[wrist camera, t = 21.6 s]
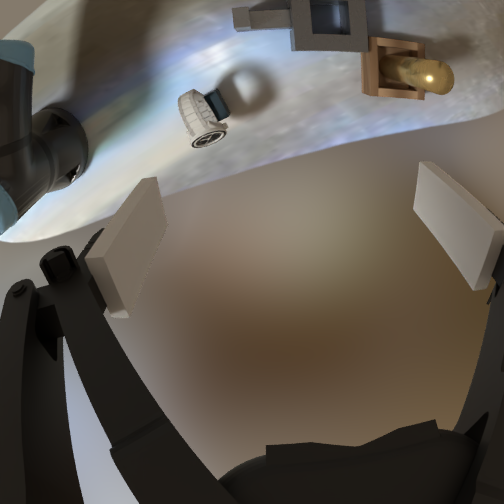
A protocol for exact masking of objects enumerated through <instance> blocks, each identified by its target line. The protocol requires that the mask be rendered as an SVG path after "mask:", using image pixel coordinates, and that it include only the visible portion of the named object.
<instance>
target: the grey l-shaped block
mask: <svg viewBox="0 0 504 504" xmlns="http://www.w3.org/2000/svg"><path fill="white" fill-rule="evenodd" d="M232 13H233V22H234V29H235V30H236V31H237V32H244V31H257V30H273V29H292V24H291V14H290V9H289V10H264V11H250V12H249V7H240V8H232Z"/></svg>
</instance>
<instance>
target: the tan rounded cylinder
mask: <svg viewBox="0 0 504 504" xmlns="http://www.w3.org/2000/svg"><path fill="white" fill-rule="evenodd" d="M379 71H380V73H381V74H382V75H383V76H384V77H385V78H387V79H391V80H394V81H398V82H401V83H405V84H408V85H411V86H414V87H418V88H421V89H424V90H427V91H430V92H433V93H436V94H439V95H444V94H447V93H449V92H450V91H451V89H452V88H453V85H454V74H453V72H452V70H451V68H450V67H449V66H448V65H447V64H446V63H444V62H441V61H436V60H429V59H422V58H414V57H406V56H396V55H385V56H383V57H382V58H381V59H380V61H379Z"/></svg>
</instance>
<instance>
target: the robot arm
mask: <svg viewBox="0 0 504 504" xmlns="http://www.w3.org/2000/svg"><path fill="white" fill-rule="evenodd" d="M34 54H35V51H34V47H33V46H32V45H31V44H30V43H29V42H26V41H21V40H0V235H2V234H3V233H4V232H5V231H6V230H7V229H9V228H10V227H12V226H14V225H15V223H17V221H18V220H19V219H20V218H21V217H22V216H23V215H24V214H25V213H26V212H27V211H28V210H29V209H30V208H31V207H32V206H33V205H34V204H35V203H36V202H37V201H38V200H39V199H40V198H41V197H42V196H43V195H45V194H46V193H49V192H53V191H57V190H61V189H63V188H66V187H67V186H69V185H70V184H72V183H73V182H74V181H75V180H76V179H77V178H78V177H79V176H80V175H81V173H82V172H83V170H84V168H85V165H86V162H87V157H88V144H87V139H86V135H85V132H84V130H83V128H82V126H81V125H80V123H79V122H78V120H77V119H76V118H75V117H74V116H73V115H71V114H70V113H69V112H67V111H65V110H62V109H59V108H48V109H44V110H42V111H40V112H37V113H35V114H34V115H32V86H33V76H34V75H35V70H34ZM413 210H414V211H415V212H416V213H417V215H418V216H419V217H420V218H421V220H422V221H423V222H424V223H425V225H426V226H427V227H428V228H429V230H430V231H431V232H432V234H433V235H434V236H435V237H436V239H437V240H438V241H439V243H440V244H441V245H442V247H443V248H444V249H445V251H446V252H447V254H448V255H449V256H450V258H451V259H452V260H453V262H454V263H455V265H456V266H457V267H458V269H459V270H460V272H461V273H462V275H463V276H464V278H465V279H466V281H467V282H468V284H469V285H470V287H471V288H472V290H473V291H475V290H481V289H486V288H487V286H488V284H489V281H490V279H491V277H493V278H494V279H495V281H496V284H495V286H494V288H493V291H492V293H491V295H490V298H489V300H488V302H487V304H489V303H490V302H491V304H490V310H489V315H488V320H487V325H486V330H485V334H484V339H483V343H482V347H481V351H480V355H479V359H478V362H477V366H476V369H475V373H474V376H473V379H472V383H471V386H470V389H469V392H468V395H467V398H466V401H465V404H464V407H463V409H462V412H461V415H460V417H459V420H458V422H457V424H456V426H455V428H454V429H453V431H450V430H443V429H438V427H437V424H436V420H435V419H434V420H431V421H427V422H423V423H419V424H415V425H411V426H406V427H402V428H398V429H396V430H394V431H392V432H390V433H388V434H386V435H384V436H382V437H380V438H377V439H375V440H373V441H371V442H368V443H366V444H364V445H361V446H356V447H353V446H340V445H331V444H321V443H313V442H308V443H296V444H281V445H266V455H263V456H259V457H256V458H254V459H251V460H248V461H246V462H244V463H242V464H240V465H238V466H236V467H235V468H233V469H232V470H230V471H229V472H227V473H226V474H225V475H224V476H222V477H221V478H220V479H219V480H217V479H216V478H215V477H214V476H213V475H212V473H211V472H210V471H209V470H208V469H207V468H206V466H205V465H204V464H203V463H202V462H201V460H200V459H199V458H198V457H197V456H196V454H195V453H194V452H193V451H192V449H191V448H190V447H189V446H188V444H187V443H186V442H185V440H184V439H183V438H182V436H181V435H180V434H179V433H178V431H177V430H176V429H175V427H174V426H173V424H172V423H171V422H170V420H169V419H168V418H167V416H166V415H165V414H164V412H163V411H162V409H161V408H160V407H159V405H158V404H157V402H156V401H155V399H154V398H153V396H152V395H151V393H150V392H149V390H148V389H147V387H146V386H145V384H144V383H143V381H142V380H141V378H140V377H139V375H138V373H137V372H136V370H135V369H134V367H133V366H132V364H131V362H130V361H129V359H128V357H127V356H126V354H125V352H124V351H123V349H122V347H121V346H120V344H119V342H118V340H117V339H116V337H115V335H114V334H113V331H112V330H111V328H110V326H109V324H108V322H107V321H106V319H105V317H104V315H103V313H104V311H105V309H106V307H107V308H108V310H109V312H110V314H111V316H112V318H130V316H131V314H132V311H133V309H134V306H135V303H136V301H137V298H138V295H139V293H140V290H141V288H142V285H143V283H144V280H145V278H146V275H147V273H148V270H149V268H150V266H151V263H152V261H153V258H154V256H155V254H156V251H157V249H158V247H159V244H160V242H161V240H162V238H163V235H164V233H165V231H166V228H167V226H168V223H167V219H166V215H165V211H164V207H163V203H162V199H161V195H160V190H159V186H158V182H157V177H151V178H144V179H142V180H141V181H140V182H139V183H138V185H137V186H136V187H135V188H134V190H133V191H132V192H131V194H130V195H129V196H128V198H127V199H126V200H125V202H124V203H123V204H122V206H121V207H120V208H119V210H118V211H117V212H116V214H115V215H114V216H113V218H112V219H111V220H110V222H109V223H108V225H107V226H106V228H102V229H101V230H99V231H98V232H97V233H96V234H94V235H93V236H92V238H91V239H90V241H89V242H88V244H87V245H86V246H85V248H84V250H83V251H82V252H81V254H80V255H79V257H78V258H77V259H76V257H75V255H74V253H73V250H72V248H70V246H60V247H57V248H55V249H52V250H51V251H49V252H48V253H46V255H44V256H43V257H42V259H41V260H40V268H41V270H42V271H43V273H44V275H45V277H46V279H47V281H48V283H49V285H47V286H43V287H40V288H37V289H36V287H35V285H34V283H33V281H31V280H30V279H24V280H21V281H19V282H16V283H15V284H14V285H13V286H11V288H10V289H9V291H8V292H7V294H6V297H5V301H4V305H3V309H2V313H1V318H0V504H84V501H83V497H82V493H81V489H80V484H79V480H78V476H77V471H76V465H75V460H74V455H73V449H72V443H71V436H70V429H69V422H68V413H67V403H66V392H65V380H64V360H63V337H64V336H65V338H66V342H67V344H68V347H69V350H70V353H71V356H72V358H73V361H74V363H75V366H76V369H77V371H78V374H79V376H80V378H81V381H82V383H83V386H84V388H85V390H86V393H87V395H88V397H89V399H90V402H91V404H92V406H93V408H94V410H95V413H96V414H97V417H98V419H99V421H100V423H101V425H102V427H103V429H104V431H105V433H106V435H107V437H108V439H109V441H110V443H111V445H112V448H111V449H110V453H111V457H112V459H113V460H114V463H115V465H116V466H117V468H118V470H119V472H120V473H121V475H122V477H123V478H124V480H125V482H126V483H127V485H128V487H129V488H130V490H131V492H132V493H133V495H134V496H135V498H136V499H137V501H138V502H139V504H504V223H503V222H501V221H500V220H499V219H498V218H497V217H496V216H495V215H494V214H493V213H492V212H491V211H490V210H489V209H487V208H486V207H484V206H483V205H482V204H481V203H480V202H479V201H478V200H477V199H476V198H475V197H474V196H472V195H471V194H470V193H469V192H468V191H467V190H466V189H464V188H463V187H462V186H461V185H460V184H459V183H457V182H456V181H455V180H454V179H453V178H451V177H450V176H449V175H448V174H446V173H445V172H444V171H443V170H442V169H440V168H439V167H438V166H436V165H435V164H434V163H433V162H420V163H419V172H418V180H417V187H416V194H415V201H414V207H413Z"/></svg>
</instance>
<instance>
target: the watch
mask: <svg viewBox="0 0 504 504" xmlns="http://www.w3.org/2000/svg"><path fill="white" fill-rule="evenodd" d="M178 107H179V112H180V114H181V117H182V120H183V122H184V124H185V126H186V127H187V129H188V131H187V134H188V137H189V141H190V145H191V147H193V148H201V147H205V146H208V145H211V144H213V143H216V142H217V141H219V140H221V139H222V138H223V137H225V135H226V134H227V131H226V130H225V129H227V128H228V126H227V124H226V123H223V124H222V123H220V122H219V121H221V120H223V119H225V118H227V117H229V115H230V111H229V109H228V107H227V105H226V103H225V102H224V100H223V98H222V96H221V94H220V92H219V90H218V89H216V90H214V91H212V92H210V93H208V94H206V95H204V96H203V94H201V93H200V92H198V91H197V90H195V89H192V90H190V91H188V92H186V93H184V94H183V95H181V96H180V97H179V98H178Z"/></svg>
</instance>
